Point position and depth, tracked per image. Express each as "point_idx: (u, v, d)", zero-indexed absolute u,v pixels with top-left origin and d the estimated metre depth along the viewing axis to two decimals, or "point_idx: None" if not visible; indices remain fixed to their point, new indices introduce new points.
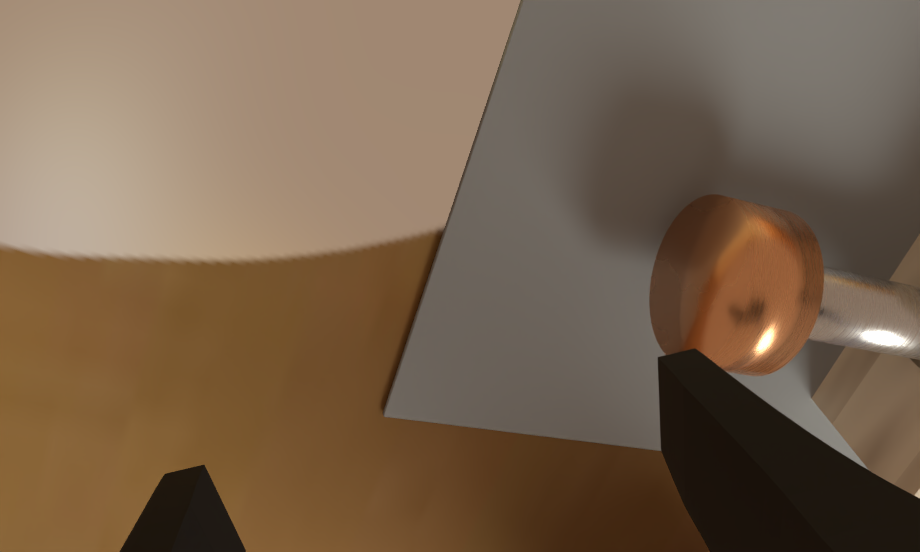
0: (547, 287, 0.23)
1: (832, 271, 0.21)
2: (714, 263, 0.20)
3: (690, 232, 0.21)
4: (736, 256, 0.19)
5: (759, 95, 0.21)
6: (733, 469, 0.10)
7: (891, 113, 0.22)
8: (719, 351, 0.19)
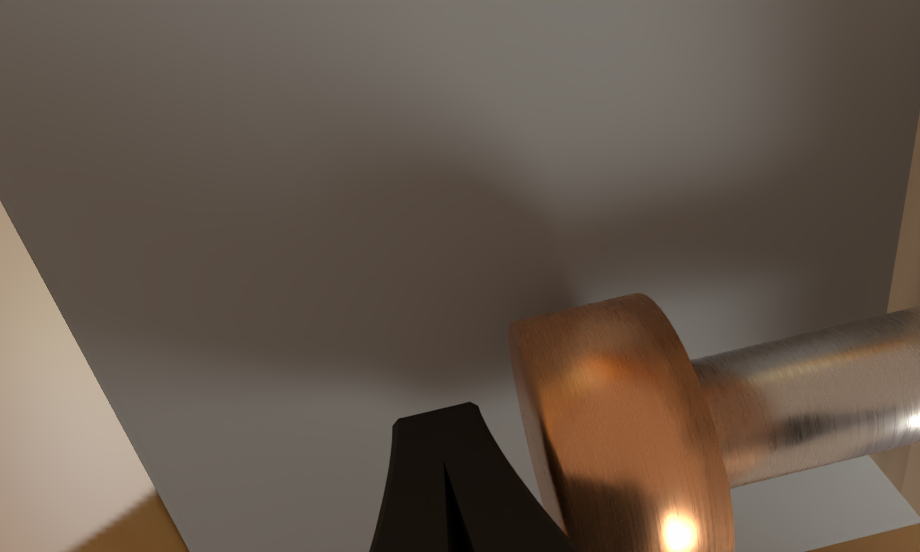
0: (353, 491, 0.16)
1: (777, 358, 0.12)
2: (545, 447, 0.12)
3: (521, 378, 0.13)
4: (552, 449, 0.11)
5: (476, 135, 0.12)
6: (466, 535, 0.10)
7: (734, 47, 0.12)
8: None
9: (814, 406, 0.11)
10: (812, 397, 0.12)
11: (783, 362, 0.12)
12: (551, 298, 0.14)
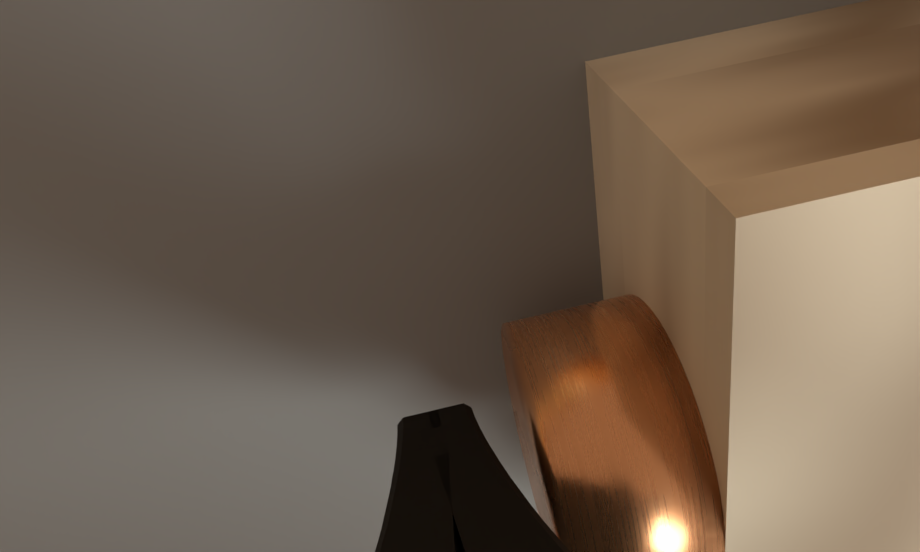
0: None
1: None
2: (537, 449, 0.12)
3: (513, 379, 0.13)
4: (543, 451, 0.11)
5: (113, 214, 0.12)
6: (458, 536, 0.10)
7: (373, 125, 0.12)
8: None
9: None
10: None
11: None
12: (237, 370, 0.14)
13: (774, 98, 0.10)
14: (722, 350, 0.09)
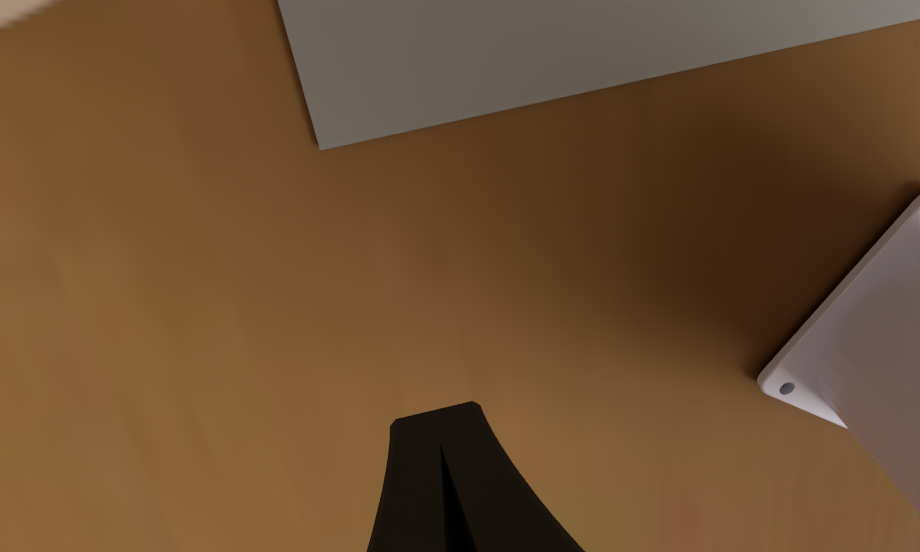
0: None
1: None
2: None
3: None
4: None
5: None
6: (468, 534, 0.10)
7: None
8: None
9: None
10: None
11: None
12: None
13: None
14: None
